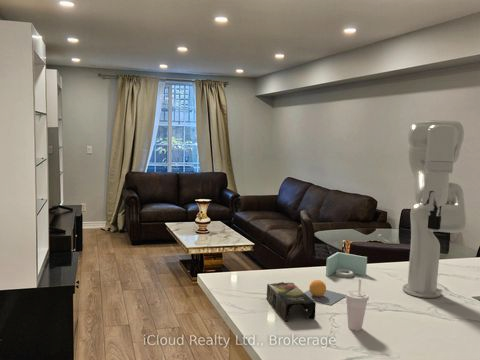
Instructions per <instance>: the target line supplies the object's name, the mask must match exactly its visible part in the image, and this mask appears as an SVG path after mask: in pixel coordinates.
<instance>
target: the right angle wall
mask: <svg viewBox="0 0 480 360" xmlns="http://www.w3.org/2000/svg"><path fill="white" fill-rule="evenodd" d="M367 266H368V256H361V255H356V254H352V253H351V254H350V253H345V252H339V251H337V252H336V253H333V254H331V255H330V256H329V257H327V258H326V264H325V276H326V277H330V275H332V274H334V273H335V276H337V277H339V278H344V279H345V278H347V277H349V278H353V277H354V276H355V275H354V274H357V275H363V276H366V275H367Z"/></svg>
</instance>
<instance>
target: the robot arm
mask: <svg viewBox="0 0 480 360" xmlns="http://www.w3.org/2000/svg"><path fill="white" fill-rule="evenodd" d="M464 131H465V130H464V126H463V123H461V122H460V121H457V120H428V121H425V122H417V123H416V122H415V123H412V124H411V125H410V127H409V130H408V134H407V135H408V136H407V137H408V144H409V147H408V162H409V163H408V164H409V166H410V170H411V172H412V175H413V176H414V199H415V204H414V205H412V206H411V209H410V212H409V213H410V215H409V217H410V237H411V238H410V250H409V260H408V261H409V262H408V263H409V265H408V274H407V276H408V277H407V283H406V284H405V283H404V284H403V286H402V291H403V292H404V293H405V294H407V295H408V294H409V295H411V296H412V297H413V296H414V297H418V298H424V299H425V298H426V299H435V298H439V297H441V295H442V291H441V289H439V288H438V276H439V264H440V253H441V244H440V241H439V239H438V237H436V235H435V234H434V232H440V233H451V234H457V233H461V232H463V231H464V229H465V228H466V222H467V220H466V219H467V217H466V207H465V196H464V191H463V188H462V187H461V185H460V184H459V183H455V182H449V181H450V174H453V172H454V171H453V169H454V163H456V162H457V161H458V159H459V156H460V153H461V149H462V145H463V142H464V136H465V132H464Z"/></svg>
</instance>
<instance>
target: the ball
mask: <svg viewBox="0 0 480 360" xmlns="http://www.w3.org/2000/svg"><path fill="white" fill-rule="evenodd" d="M308 290H310V292H311V294H312V295H313V296H316V297H321V296H323V295H324V294H325V292H326V290H327V287H326V283H325V282H324V281H322V280H320V279H315V280H313V281H311V282H310V284H309V289H308Z"/></svg>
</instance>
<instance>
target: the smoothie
mask: <svg viewBox="0 0 480 360" xmlns="http://www.w3.org/2000/svg"><path fill="white" fill-rule="evenodd" d="M361 284H362V279H358V290H349V291H346V292H345V294H344V295H345V297H344V298H345V299H346V312H347V313H346V314H347V316H346V317H347V327H348V329H349V330H352V331H356V332H359V331H362V329H363V324H364V319H365V314H366V309H367V304H368V301H369V298H370V297H369V296H370V295H369V294H368V293H365V292H363V291H361V289H362V285H361Z"/></svg>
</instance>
